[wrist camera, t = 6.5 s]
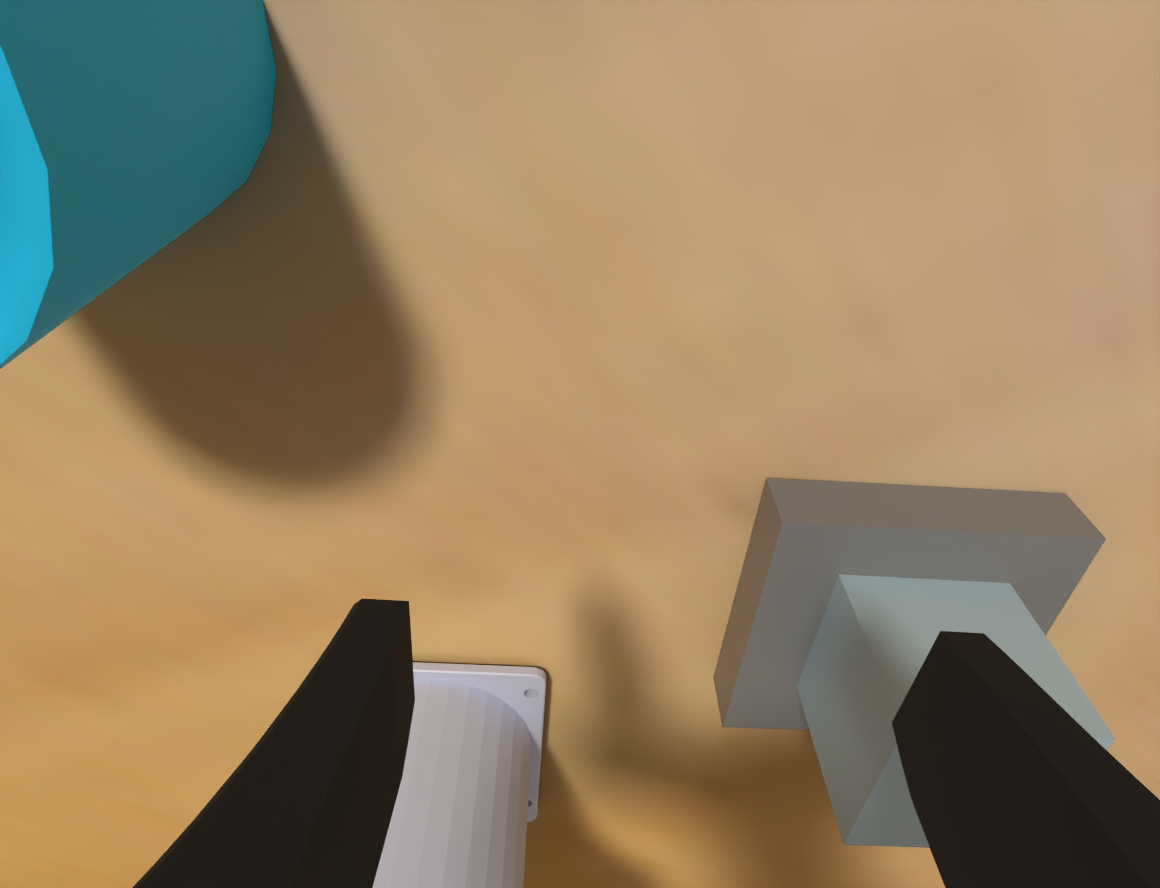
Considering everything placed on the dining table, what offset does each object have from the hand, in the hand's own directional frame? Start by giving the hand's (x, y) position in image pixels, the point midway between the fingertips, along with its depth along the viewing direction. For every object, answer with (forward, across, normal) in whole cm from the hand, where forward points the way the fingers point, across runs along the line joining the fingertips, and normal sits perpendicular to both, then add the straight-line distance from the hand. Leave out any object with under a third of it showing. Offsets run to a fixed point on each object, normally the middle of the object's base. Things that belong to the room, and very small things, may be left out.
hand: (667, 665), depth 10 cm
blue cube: (+8, -9, +8) cm, 15 cm away
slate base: (+10, -9, +9) cm, 16 cm away
